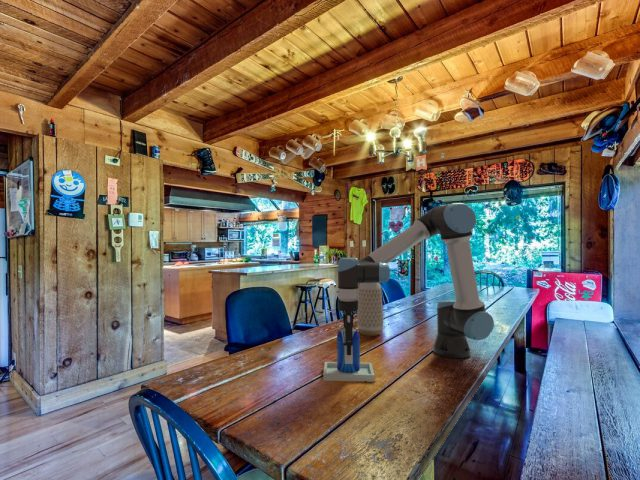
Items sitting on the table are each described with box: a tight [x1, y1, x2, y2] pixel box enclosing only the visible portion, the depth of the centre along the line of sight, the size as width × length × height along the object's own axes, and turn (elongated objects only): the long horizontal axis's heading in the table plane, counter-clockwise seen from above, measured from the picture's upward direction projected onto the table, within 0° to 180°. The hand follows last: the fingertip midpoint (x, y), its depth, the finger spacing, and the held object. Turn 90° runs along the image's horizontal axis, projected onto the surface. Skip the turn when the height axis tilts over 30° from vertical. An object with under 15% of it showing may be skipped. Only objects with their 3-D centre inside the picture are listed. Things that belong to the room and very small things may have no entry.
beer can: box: [336, 326, 361, 374], centre depth 124 cm, size 8×8×16 cm
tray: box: [322, 361, 376, 383], centre depth 124 cm, size 18×12×2 cm, turn 87°
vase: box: [356, 283, 384, 337], centre depth 178 cm, size 14×14×31 cm
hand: (348, 356), depth 124 cm, fingers open, 13 cm apart
